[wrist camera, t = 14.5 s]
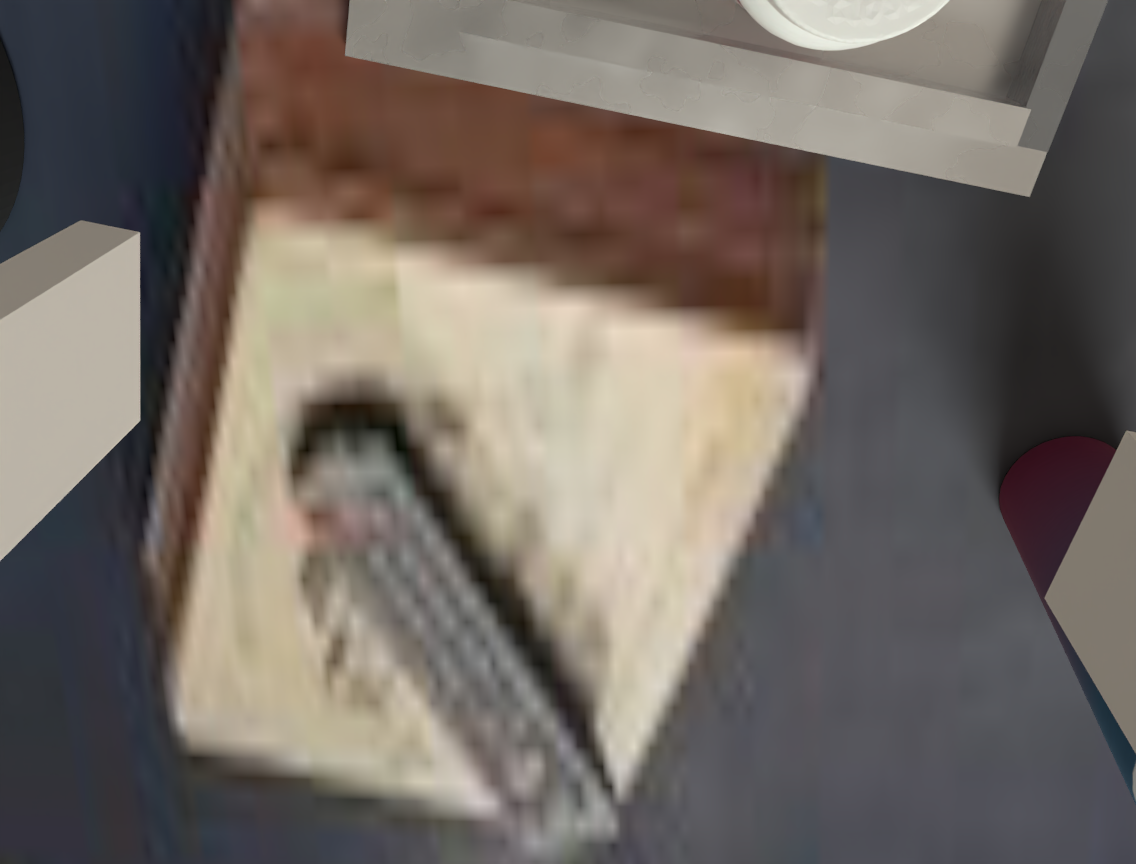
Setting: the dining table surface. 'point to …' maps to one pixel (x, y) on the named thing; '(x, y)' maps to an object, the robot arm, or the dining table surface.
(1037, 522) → the cup
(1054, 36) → the white shallow tray
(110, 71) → the dining table surface
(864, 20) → the pill bottle
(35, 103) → the dining table surface
